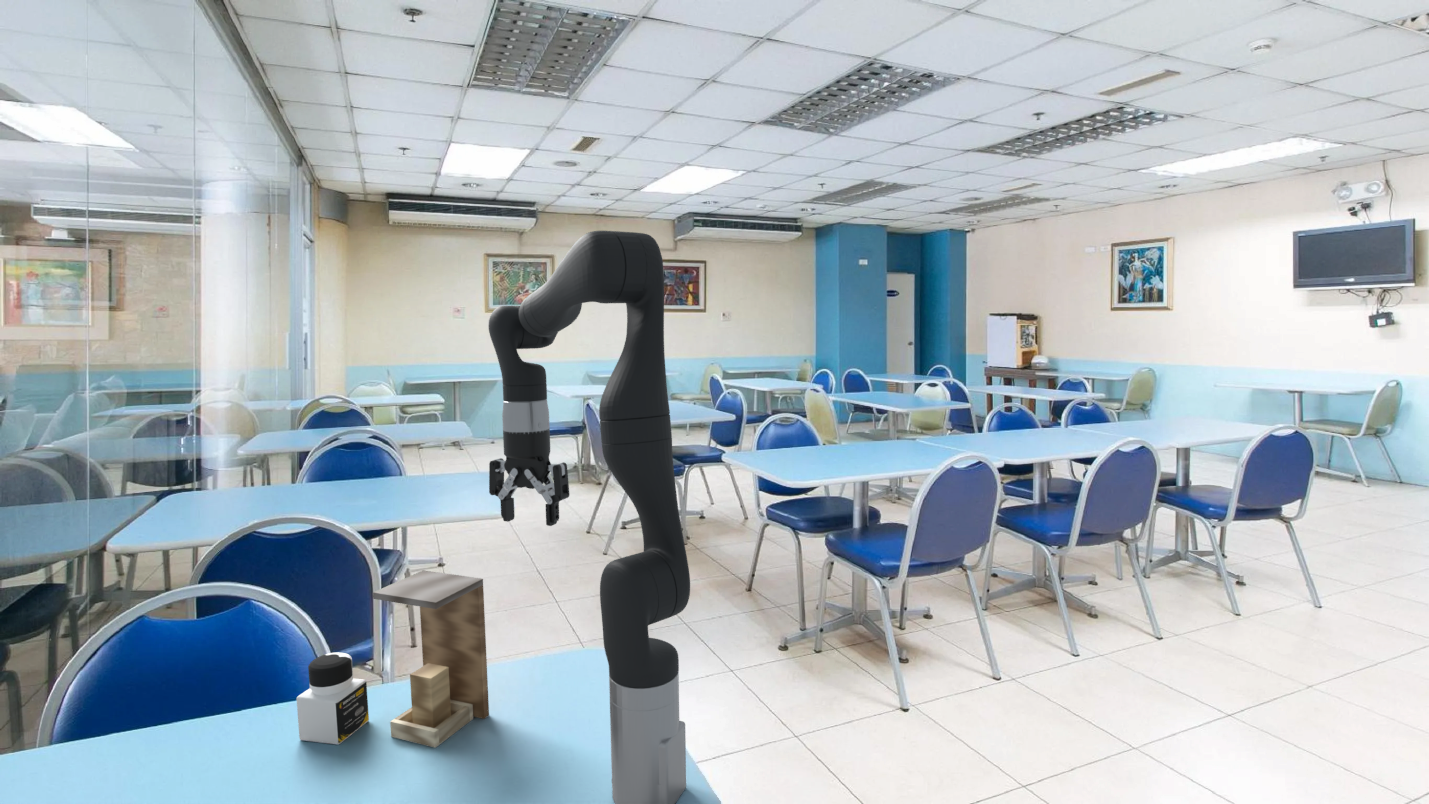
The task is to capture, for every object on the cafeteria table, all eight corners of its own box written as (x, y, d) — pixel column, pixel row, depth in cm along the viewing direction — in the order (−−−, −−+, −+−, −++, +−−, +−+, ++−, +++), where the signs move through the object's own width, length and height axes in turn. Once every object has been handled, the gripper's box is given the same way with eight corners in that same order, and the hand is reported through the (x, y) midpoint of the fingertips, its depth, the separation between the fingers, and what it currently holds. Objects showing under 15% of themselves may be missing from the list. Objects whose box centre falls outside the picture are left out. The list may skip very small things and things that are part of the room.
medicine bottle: (339, 745, 112) (334, 670, 111) (298, 741, 114) (292, 666, 112) (370, 720, 119) (365, 649, 118) (331, 716, 121) (326, 646, 119)
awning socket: (489, 715, 120) (482, 578, 118) (443, 750, 111) (435, 602, 108) (430, 702, 125) (423, 570, 122) (381, 735, 115) (372, 592, 112)
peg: (451, 723, 118) (448, 667, 117) (433, 737, 114) (430, 678, 113) (431, 719, 120) (428, 663, 118) (413, 732, 116) (409, 674, 115)
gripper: (575, 425, 123) (578, 520, 125) (504, 422, 129) (508, 513, 130) (550, 432, 117) (553, 532, 118) (476, 428, 122) (480, 524, 123)
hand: (530, 522), depth 124 cm, fingers open, 8 cm apart
